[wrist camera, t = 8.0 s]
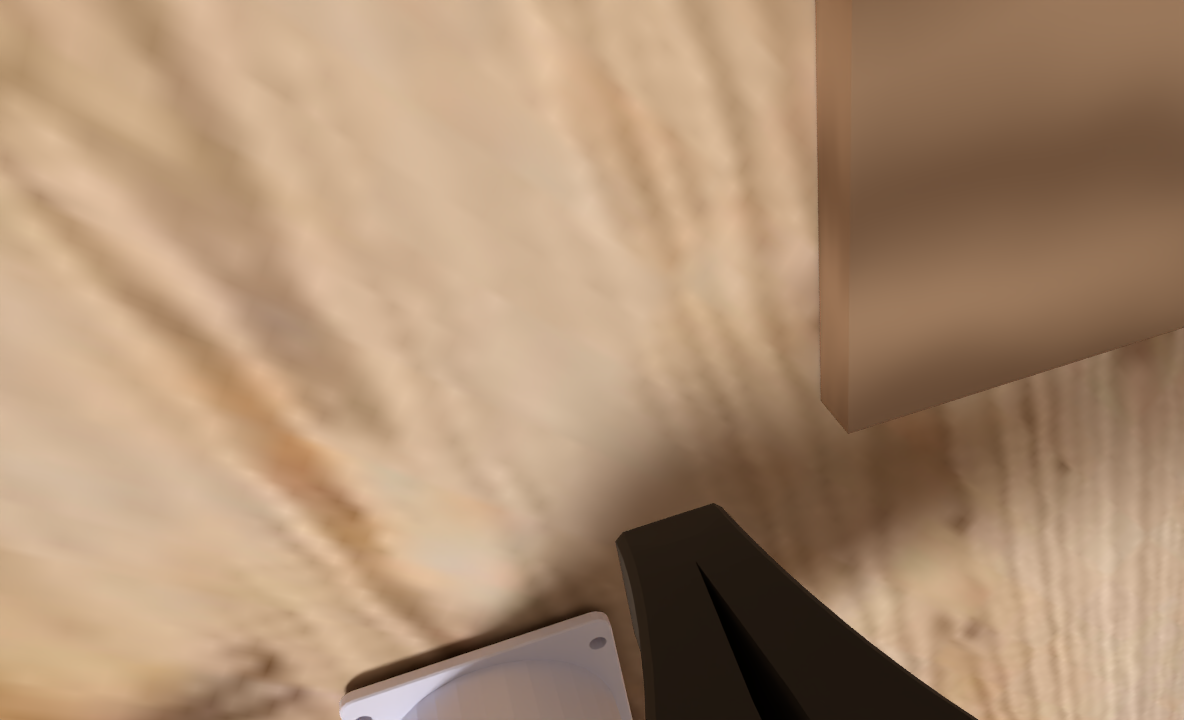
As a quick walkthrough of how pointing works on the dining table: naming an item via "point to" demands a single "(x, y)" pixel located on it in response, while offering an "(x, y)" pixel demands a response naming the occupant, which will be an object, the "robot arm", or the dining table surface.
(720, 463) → the dining table surface
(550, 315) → the dining table surface
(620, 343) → the dining table surface
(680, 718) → the robot arm
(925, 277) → the walnut board
